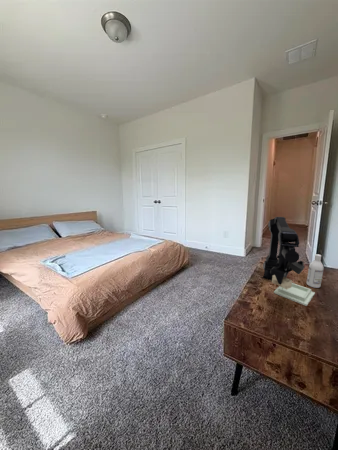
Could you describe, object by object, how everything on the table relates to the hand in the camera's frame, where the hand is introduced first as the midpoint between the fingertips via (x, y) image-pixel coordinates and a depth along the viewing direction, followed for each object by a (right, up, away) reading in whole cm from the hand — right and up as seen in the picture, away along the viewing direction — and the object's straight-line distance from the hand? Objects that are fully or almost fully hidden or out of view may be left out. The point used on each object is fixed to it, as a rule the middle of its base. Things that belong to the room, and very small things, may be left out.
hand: (281, 282), depth 99 cm
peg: (0, -1, 0) cm, 1 cm away
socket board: (+13, -9, +9) cm, 18 cm away
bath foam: (+30, -7, +18) cm, 36 cm away
